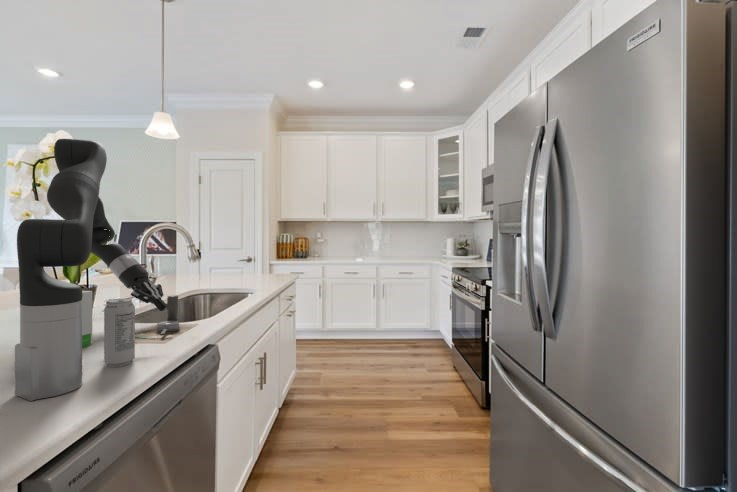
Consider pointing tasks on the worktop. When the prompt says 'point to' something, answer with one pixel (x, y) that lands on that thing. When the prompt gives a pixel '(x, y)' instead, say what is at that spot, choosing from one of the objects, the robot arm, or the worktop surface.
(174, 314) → the tuning peg
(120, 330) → the energy drink can
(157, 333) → the tuner board
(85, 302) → the skincare box
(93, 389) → the worktop surface
